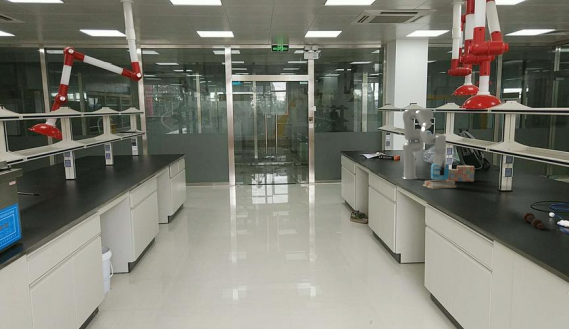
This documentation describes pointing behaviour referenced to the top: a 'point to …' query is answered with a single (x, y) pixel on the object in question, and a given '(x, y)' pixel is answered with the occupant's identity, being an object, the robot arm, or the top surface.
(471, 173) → the stack of blocks
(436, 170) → the data package
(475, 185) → the top surface
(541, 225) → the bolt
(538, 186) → the top surface
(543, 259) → the top surface
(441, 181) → the cradle
